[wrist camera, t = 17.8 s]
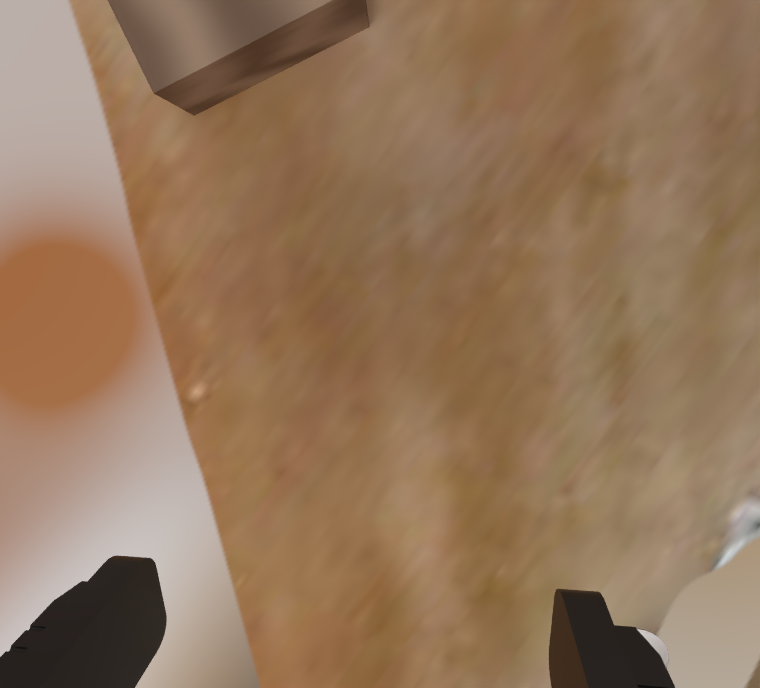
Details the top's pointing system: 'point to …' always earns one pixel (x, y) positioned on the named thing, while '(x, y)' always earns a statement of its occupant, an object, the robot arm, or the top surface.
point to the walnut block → (228, 41)
